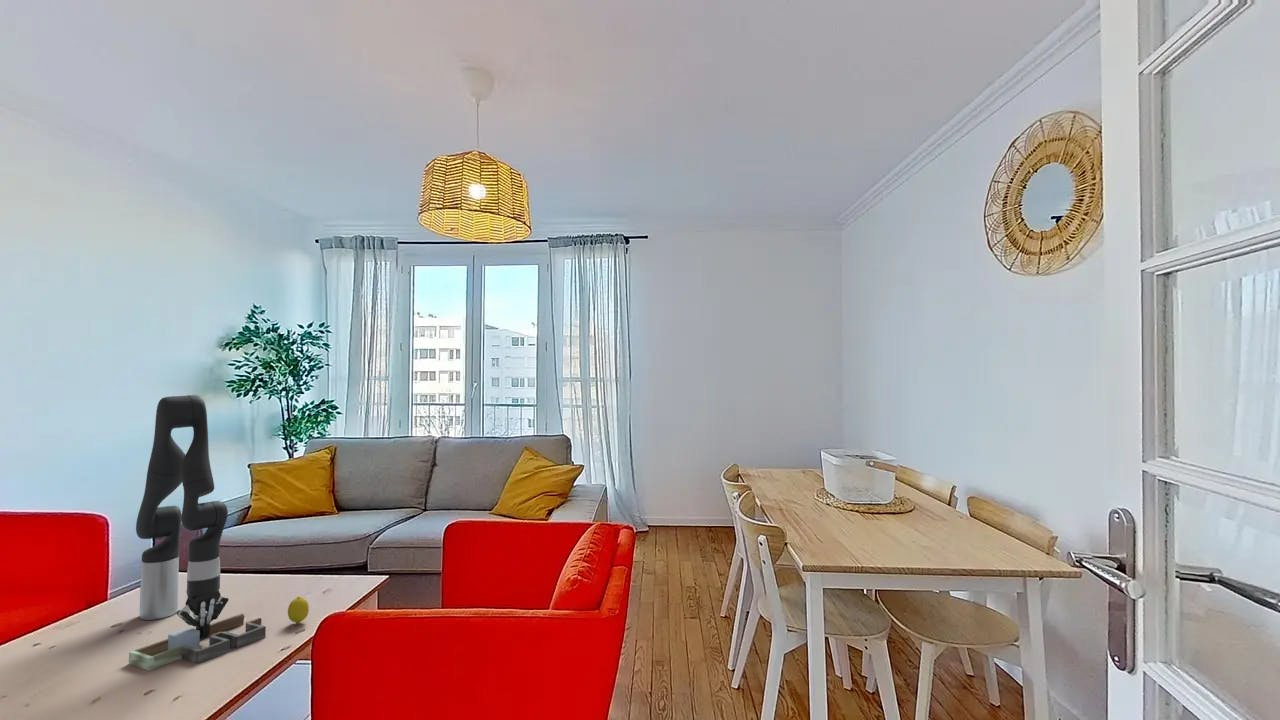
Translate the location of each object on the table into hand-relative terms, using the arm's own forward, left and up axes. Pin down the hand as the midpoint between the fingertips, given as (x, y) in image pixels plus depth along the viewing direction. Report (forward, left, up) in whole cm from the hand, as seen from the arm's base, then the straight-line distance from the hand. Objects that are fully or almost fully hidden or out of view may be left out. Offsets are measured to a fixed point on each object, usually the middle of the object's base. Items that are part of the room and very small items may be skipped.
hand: (202, 638), depth 171 cm
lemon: (+11, +21, -2) cm, 24 cm away
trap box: (+3, -1, -2) cm, 4 cm away
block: (0, -5, -2) cm, 5 cm away
